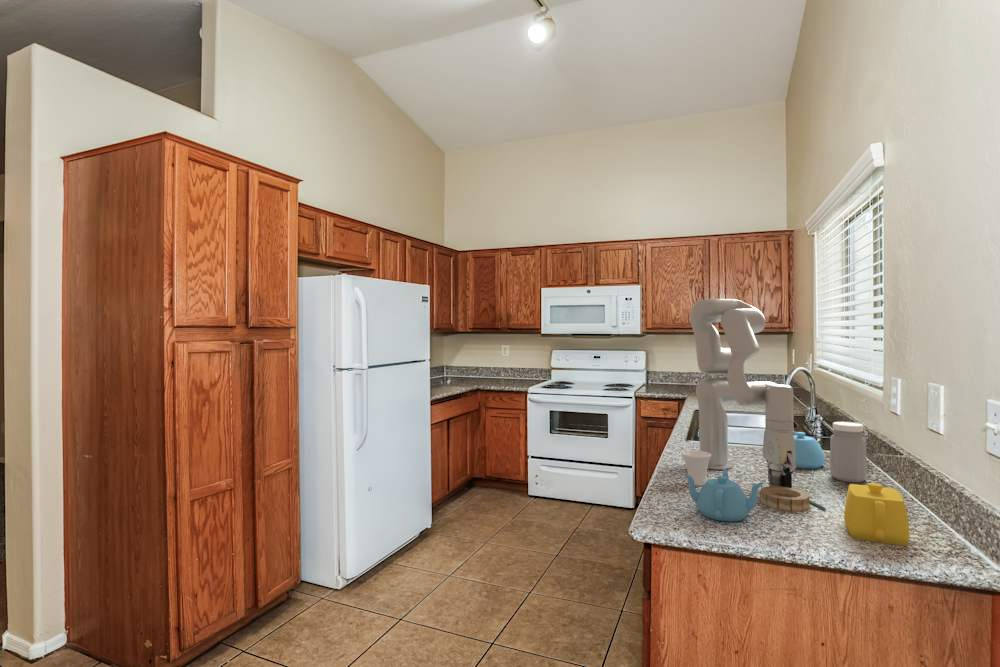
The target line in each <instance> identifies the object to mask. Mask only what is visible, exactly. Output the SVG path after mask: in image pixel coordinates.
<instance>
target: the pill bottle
mask: <svg viewBox="0 0 1000 667" xmlns="http://www.w3.org/2000/svg"><path fill="white" fill-rule="evenodd" d="M784 464H787V462H785V463H784ZM786 468H787V466H784V469H786ZM768 469H769V481H768V486H778V487H779V486H780V475H781V474H782V473H781V468H780V465H776V464H774V463H772V464H771V465H770V466H769V468H768Z"/></svg>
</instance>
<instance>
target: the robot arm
mask: <svg viewBox="0 0 1000 667" xmlns="http://www.w3.org/2000/svg"><path fill="white" fill-rule="evenodd" d="M689 319H690V325H691V327H692V331H693V335H694V340H695V350H696V351H695V352H696V360H697V366H698V369H699V372H701V373H703V374H707V375H719V374H720V375H721V374H723V376H721V377H720V376H719V377H708V378H707V377H706V378H703V379H701V380H700V381H698V383H697V384H696V386H695V395H696V398H697V399H696V400H697V406H698V424H699V425H698V426H699V427H698V428H699V431H698V432H699V434H698V435H699V437H698V438H699V444H698V445H699V450H698V451H704V452H708V453H710V454H711V457H710V460H709V462H708V467H707V470H716V471H718V470H719V471H721V470H722V471H723V470H724V469H726V470H730V469H733V465H734V464H733V462H731V461H729V442H728V441H729V429H728V426H729V424H728V423H729V422H728V414H727V413H726V410H725V409H724V407H723V405H726V404H727V405H731V404H738V405H740V406H743V407H757V406H758V407H759V406H765V428H764V433H763V445H762V457H763V458H764V460H766V462H767V463H766V464H767V470H768V471H767V478H768V480H767V481H768V482H769V466H770V465H771V464H772V463H774V464H776V465H780V468H781V473H782V474H781V475H780V487H789V488H793V479H792V478H793V477H792V476H793V474H794V472H795V469H797V468H796V464H795V444H794V436H793V435H794V431H795V430H794V429H795V428H794V388H793V387H792V386H791V385H789V384H783V383H782V384H780V383H776V382H773V381H767V380H765V381H763V380H762V381H748V380H747V378H746V375H745V367H744V365H745V362H746V361H747V360H749V359H751V358H753V357H755V356H757V354H758V353H759V352H760V345H759V343H758V340H757V338H756V336H755V334H758V333H761V332H762V331H764V329H765V327H766V318H765V315H764V314H763V312H762V311H760V310H759V309H758V308H756V307H755V306H753V305H751V304H748V303H746V302H744V301H743V300H739V299H736V298H705V299H701V300H699V301H697V302H695V303H694V304H693V306H692V307H691V310H690V315H689ZM713 323H721V327H722V330H723V332H724V336H725V338H726V342H727V343H728V346H729V347H722V344H721V337H720V334H719V331H718V330H717V328H716V327H715V325H713ZM785 462H787V464H784V463H785ZM784 466H787V468H786V469H784Z"/></svg>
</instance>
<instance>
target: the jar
mask: <svg viewBox="0 0 1000 667" xmlns="http://www.w3.org/2000/svg"><path fill="white" fill-rule="evenodd" d="M832 429H833V430H832V433H833V434H831V435H830V437H829V439H830V441H829V442H830V443H829V447H830V450H829V452H830V454H829V455H830V456H829V457H830V458H829V460H830V462H829V463H830V467H829V468H830V472H829V473H830V474H831V476H832V477H833V478H834V479H835V480H837V481H838V480H839V481H841V482H847V483H862V482H864V481H865V480H866V479H867V474H868V473H867V440H866V437H864V436H863V435H865V434H864V433H863V431H864V429H865V428H864V424H862V423H859V422H852V421H834V422H832Z"/></svg>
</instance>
